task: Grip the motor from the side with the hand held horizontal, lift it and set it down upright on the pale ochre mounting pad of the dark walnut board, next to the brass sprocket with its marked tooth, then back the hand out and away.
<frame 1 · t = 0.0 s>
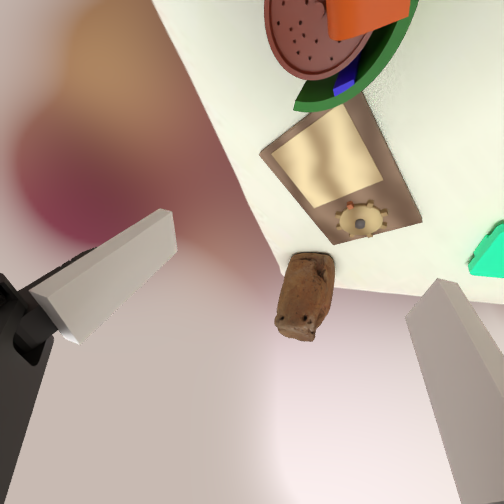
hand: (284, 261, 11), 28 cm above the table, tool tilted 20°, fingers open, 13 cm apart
mounting board: (341, 184, 37), on the table
block: (313, 258, 56), on the table
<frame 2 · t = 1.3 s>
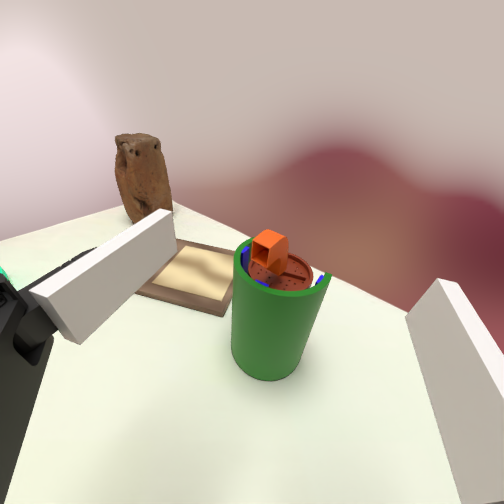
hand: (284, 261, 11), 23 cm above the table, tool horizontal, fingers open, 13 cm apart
motor: (264, 348, 32), on the table
mounting board: (178, 269, 44), on the table
block: (152, 219, 59), on the table
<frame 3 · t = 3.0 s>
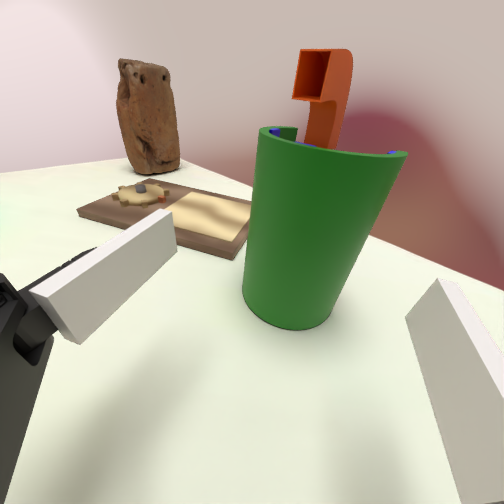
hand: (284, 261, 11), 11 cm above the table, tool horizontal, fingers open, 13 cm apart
motor: (284, 295, 25), on the table
mounting board: (181, 213, 37), on the table
block: (156, 171, 53), on the table
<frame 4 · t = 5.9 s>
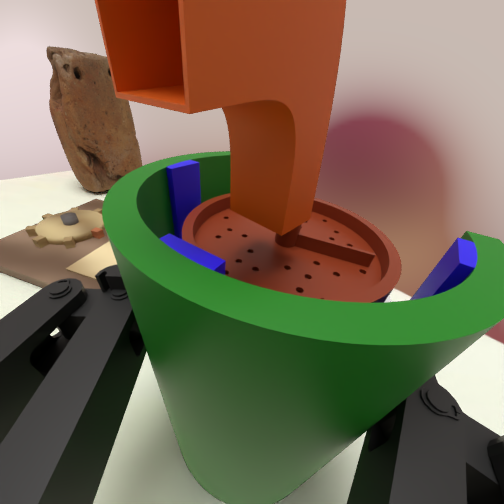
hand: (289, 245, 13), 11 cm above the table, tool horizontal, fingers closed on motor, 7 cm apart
motor: (245, 409, 16), on the table, touching gripper
mounting board: (125, 251, 28), on the table
block: (114, 186, 44), on the table
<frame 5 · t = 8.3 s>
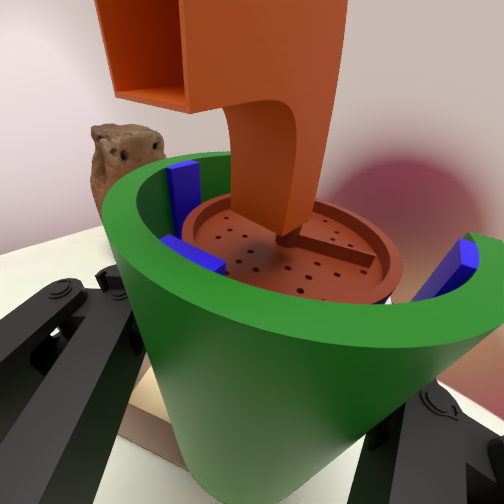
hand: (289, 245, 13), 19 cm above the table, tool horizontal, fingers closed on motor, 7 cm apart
motor: (245, 410, 16), point 8 cm above the table, touching gripper
mounting board: (178, 356, 26), on the table
block: (148, 247, 42), on the table
when the fingers open (14 cm above the table, at t = 10.6 s): motor drops 1 cm, resting on mounting board.
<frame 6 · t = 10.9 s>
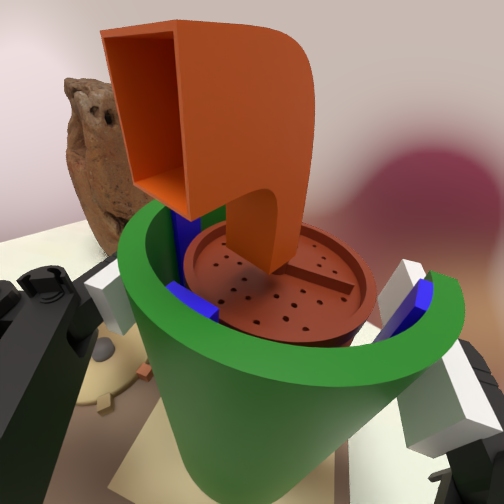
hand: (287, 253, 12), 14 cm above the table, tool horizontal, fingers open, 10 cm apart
motor: (241, 415, 16), point 1 cm above the table, touching mounting board
mounting board: (186, 397, 18), on the table
block: (144, 245, 34), on the table
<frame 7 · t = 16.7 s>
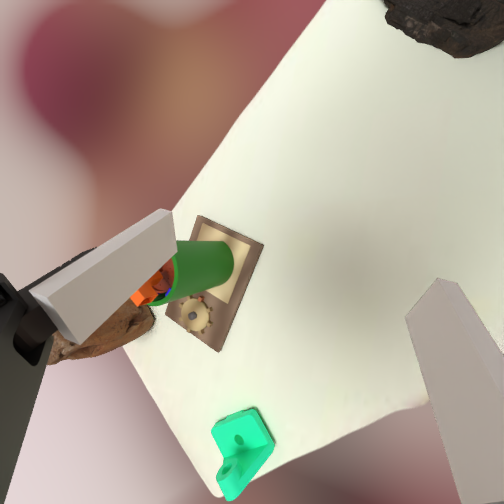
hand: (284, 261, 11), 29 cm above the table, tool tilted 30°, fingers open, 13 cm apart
wood: (425, 12, 32), on the table
motor: (215, 263, 46), point 1 cm above the table, touching mounting board
mounting board: (210, 282, 48), on the table
block: (142, 311, 57), on the table
camera mount: (244, 428, 47), on the table
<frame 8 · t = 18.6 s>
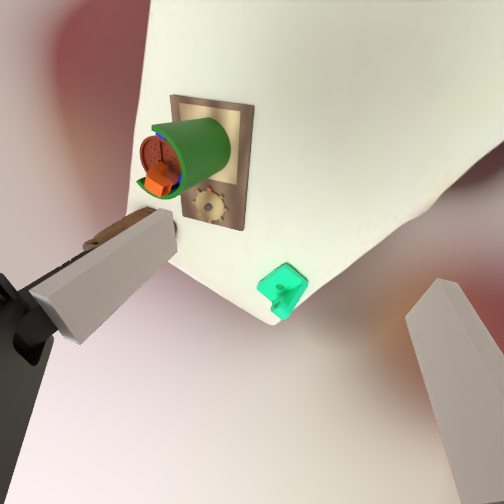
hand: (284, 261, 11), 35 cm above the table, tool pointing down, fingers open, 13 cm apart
motor: (210, 147, 43), point 1 cm above the table, touching mounting board
mounting board: (213, 170, 47), on the table
block: (161, 222, 61), on the table
camera mount: (282, 280, 59), on the table
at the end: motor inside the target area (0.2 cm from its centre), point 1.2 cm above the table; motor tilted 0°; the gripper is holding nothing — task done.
